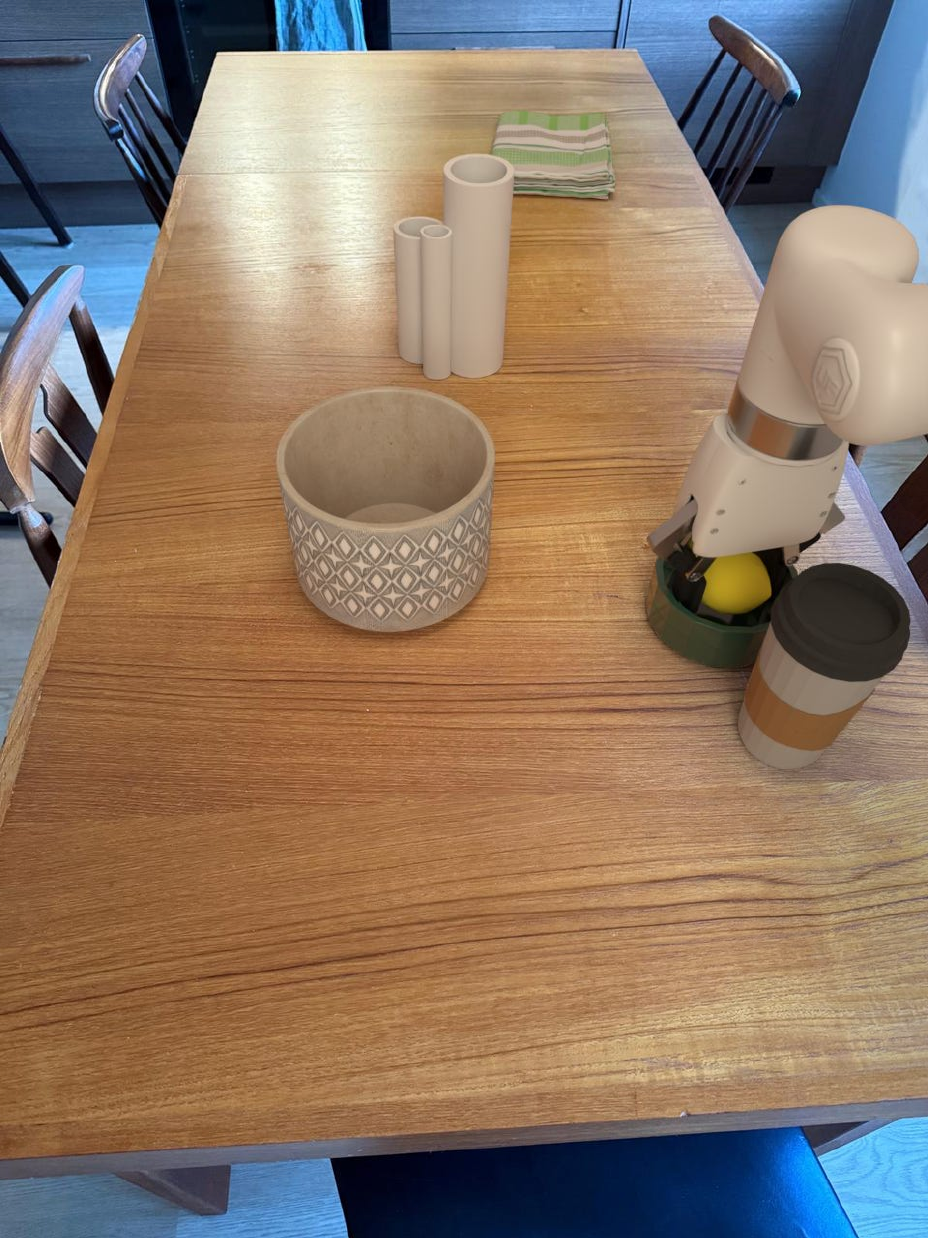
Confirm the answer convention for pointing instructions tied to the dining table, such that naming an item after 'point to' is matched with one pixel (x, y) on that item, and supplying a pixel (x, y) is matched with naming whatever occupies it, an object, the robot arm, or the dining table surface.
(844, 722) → the coffee cup
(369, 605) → the planter
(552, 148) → the dish towel
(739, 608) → the lemon
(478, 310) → the vase
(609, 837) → the dining table surface
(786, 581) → the bowl
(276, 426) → the dining table surface
